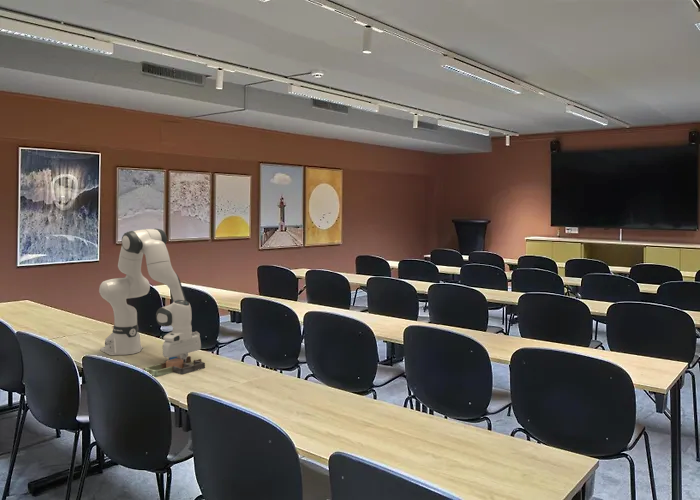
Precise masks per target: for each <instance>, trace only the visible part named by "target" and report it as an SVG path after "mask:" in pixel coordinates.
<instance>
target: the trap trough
mask: <svg viewBox="0 0 700 500" xmlns="http://www.w3.org/2000/svg"><path fill="white" fill-rule="evenodd" d="M191 358H192V357H191V356H190V355H188V357H187V359H186V362H185V363H183V368H179V367H176V366H172V367H168V368H166V361H165V362H162V363H157V364H155V365H150V366H147V367H143V371H144V370H145V371H147V372H149V373H150V374H152V375H153V376H152V377H154V376H155V378H157V377H161V376H164V375H169V374H172V373H175V374H180V375H184V374H189V373H191V372H195V371H199V370H202V369H205V368H206V362H204V361H202V359H201V358H198V359H194V360H193V364H191ZM182 359H183V358H182ZM198 369H199V370H198Z"/></svg>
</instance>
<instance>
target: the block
mask: <svg viewBox="0 0 700 500" xmlns="http://www.w3.org/2000/svg"><path fill="white" fill-rule="evenodd" d="M165 362H166V368H168V367H172V366H176V367H179V368H183V360H182V359H178V358H175V359H171V360H169V359H167V360H166V361H165Z"/></svg>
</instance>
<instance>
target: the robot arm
mask: <svg viewBox="0 0 700 500" xmlns="http://www.w3.org/2000/svg"><path fill="white" fill-rule="evenodd" d="M167 241H168V237H167V234H166V232H165V231H164V230H163V229H160V228H143V229H137V230H130V231H127V232H124V233H123V235H122V237H121V248H120V251H119V256H118V263H117V268H118V270H119V271H120V272H121V273H122V274H124V275H125V276H124V277H118V278H117V277H116V278H111V279H106V280H103V281H102V282H101V283H100V284H99V289H98V293H99V295H100V297H101V298H102V299H103V300H105V301H106V302H107V303H109V304H110V306H111V308H112V310H113V319H114V321H113V323H114V325H112V327H111V328H112V332H111V333H110V334H109V335H108V336H107V337H106V338H105V339H104V346H102V347H100V349H99V350H100V351H101V352H103V353H105V354H107V355H109V356H120V355H121V356H123V355H124V356H127V355H133V354H134V355H135V354H137V353H140V352H141V351H142V349H143V348H144V347H143V346H142V344H141V334H140V333H139V325H138V312H137V309H136V308H135V307H134V306H132V305H131V304H128V303H127V300H128V299H136V298H140V297H143V296H146V295H148V294H149V292H150V290H151V289H150V288H151V285H150V281H149V280H148V278H146V277H145V276H144V275H143V273H142V264H143V263H142V262H143V257H145V263H146V269H147V273H148V275H149V277H150V278H151V279H152V280H153V281H156V282H158V283H161V284H163V285H166V286H167V287H168V288H169V290H170V294H171V297H172V300H173V302H172V303H170V304H168V305H165V306H162V307H159V308H158V309H157V310H156V314H155V320H156V322H157V324H158V325H159V326H160V327H172V330H171V331H170V332H168V333H167V334H165V335H164V336H163V337H162V338H163V341H164V342H163V344H162V355H163V357H164V358H167V359H169V358H170V357H174V356H177V357H178V359H182V358H181V357H182V354H183V355H184V356H183V359H182V360H183V363H185V362H186V359H187V357H188V356H189V354H190V353H194V352H196V351H200V350H201V348H202V342H201V337H200V336H201V334H200V332H198V331H197V330H195V331H193V329H192V328H193V326H192V317H193V316H192V307H191V304H190V302H189V301H187V298H186V296H185V292H184V290H183V286H182V283H181V280H180V277H179V275H178V274H177V272H175V270H174V268H173V266H172V263H171V262H172V261H171V257H170V253H169V251H168V248H167Z"/></svg>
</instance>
